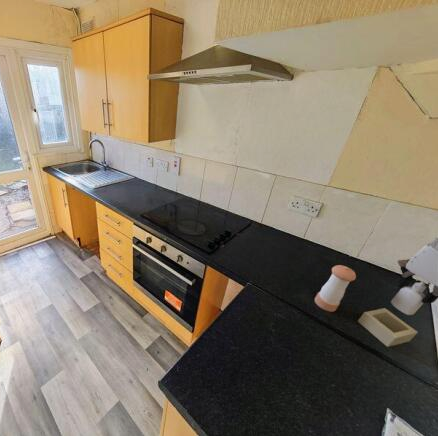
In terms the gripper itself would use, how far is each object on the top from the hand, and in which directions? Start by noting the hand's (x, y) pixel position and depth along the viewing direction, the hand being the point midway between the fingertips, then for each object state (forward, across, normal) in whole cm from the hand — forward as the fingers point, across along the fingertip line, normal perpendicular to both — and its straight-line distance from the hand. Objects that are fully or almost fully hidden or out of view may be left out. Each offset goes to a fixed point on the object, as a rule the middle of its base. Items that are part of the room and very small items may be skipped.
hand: (413, 293), depth 72 cm
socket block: (+19, 0, 0) cm, 19 cm away
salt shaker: (+19, +14, +10) cm, 26 cm away
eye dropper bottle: (+7, 0, 0) cm, 7 cm away
